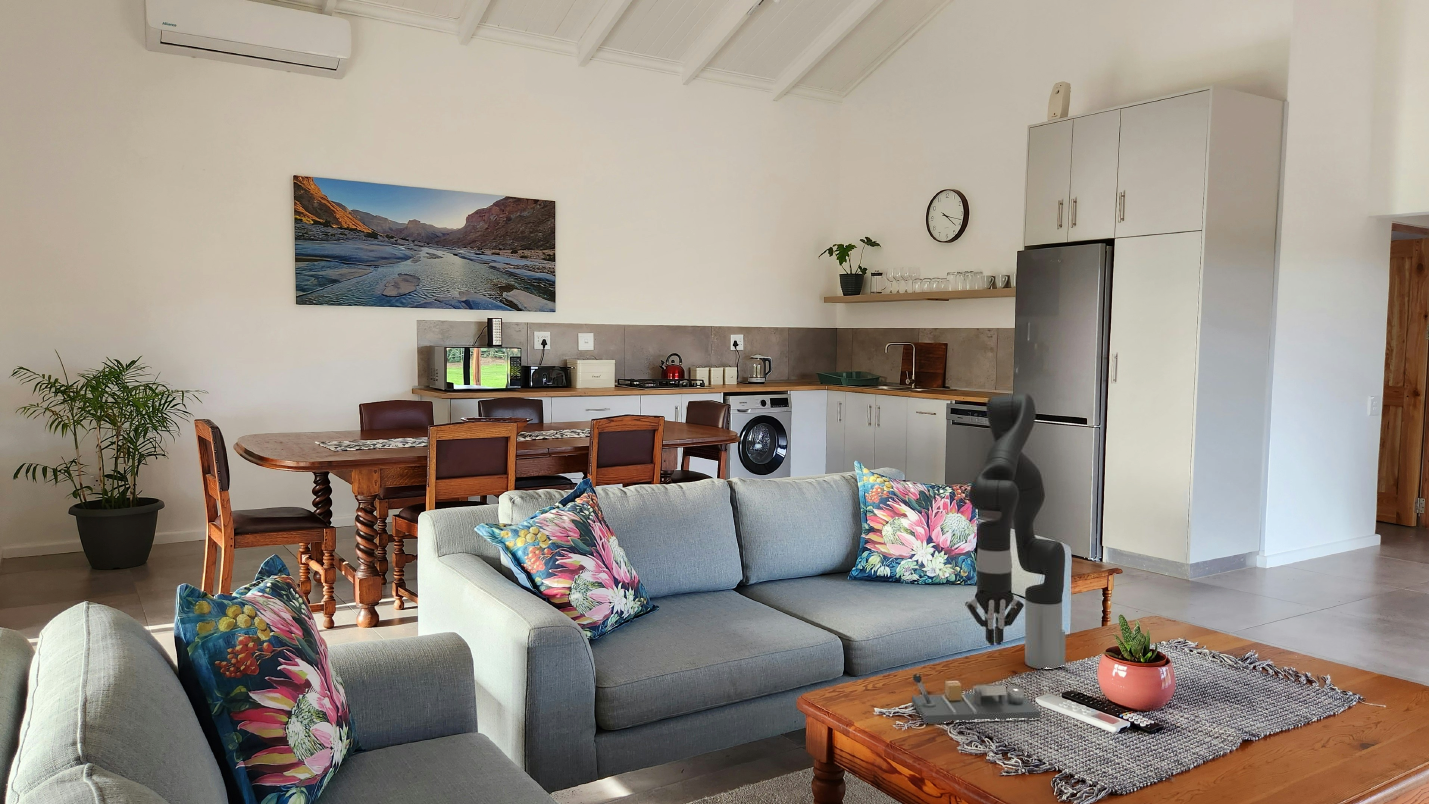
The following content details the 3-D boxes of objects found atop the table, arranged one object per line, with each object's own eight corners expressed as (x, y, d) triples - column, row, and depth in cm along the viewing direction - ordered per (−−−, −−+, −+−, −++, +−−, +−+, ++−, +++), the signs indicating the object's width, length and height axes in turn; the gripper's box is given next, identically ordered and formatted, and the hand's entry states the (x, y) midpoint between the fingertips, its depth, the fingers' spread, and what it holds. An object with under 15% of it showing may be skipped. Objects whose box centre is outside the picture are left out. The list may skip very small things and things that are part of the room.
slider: (957, 695, 221) (957, 678, 221) (961, 699, 218) (961, 683, 218) (945, 695, 221) (945, 679, 220) (948, 700, 218) (948, 683, 217)
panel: (1020, 700, 223) (1020, 678, 223) (1040, 720, 211) (1040, 697, 211) (912, 703, 222) (911, 682, 222) (925, 724, 210) (925, 701, 210)
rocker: (992, 694, 221) (991, 684, 222) (1006, 694, 211) (1005, 684, 212) (974, 694, 221) (973, 684, 221) (987, 695, 211) (985, 684, 212)
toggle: (931, 699, 217) (918, 670, 217) (934, 702, 215) (920, 673, 215) (924, 702, 217) (910, 674, 217) (926, 706, 215) (912, 677, 215)
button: (1020, 697, 219) (1020, 684, 218) (1025, 703, 215) (1025, 690, 215) (1004, 697, 218) (1004, 685, 218) (1010, 703, 215) (1010, 691, 215)
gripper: (1017, 563, 215) (1018, 637, 216) (959, 564, 215) (959, 639, 216) (1030, 571, 208) (1030, 648, 209) (969, 572, 207) (969, 650, 208)
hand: (994, 643), depth 212 cm, fingers closed
